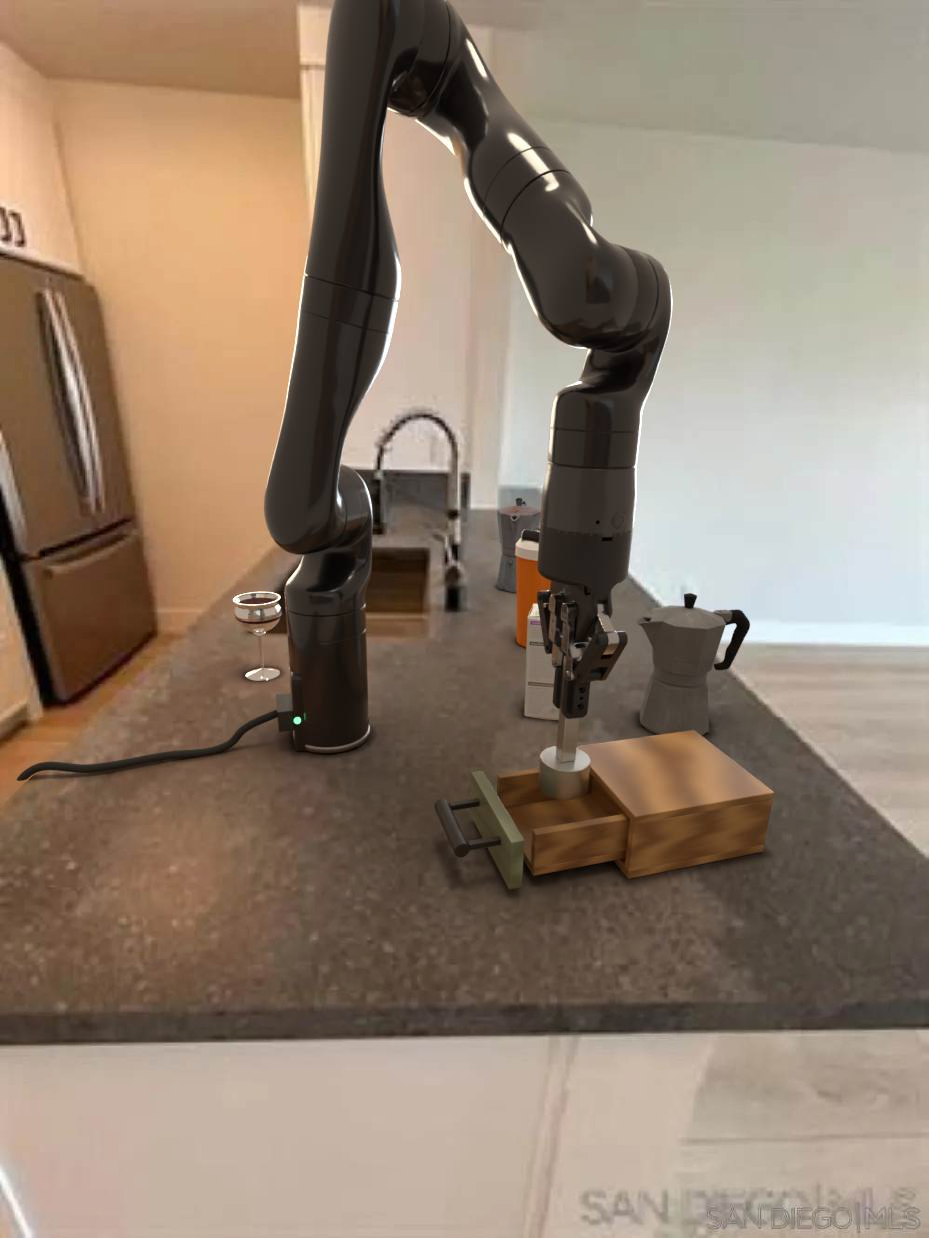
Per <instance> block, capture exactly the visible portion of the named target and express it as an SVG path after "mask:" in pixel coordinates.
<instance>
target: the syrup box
mask: <svg viewBox="0 0 929 1238" xmlns="http://www.w3.org/2000/svg"><path fill="white" fill-rule="evenodd" d="M525 650H526V651H525V673H524V674H525V676H524V701H523V702H524V703H523V705H524V706H523V715H524V716H525V717H526V718H533V719H541V720H549V721H550V720H551V721H559V709H558V708H556V707H555V705H554V704H553V690H554V677H555V669H556V668H554V667H553V666H552V654H546V652H545V649H544V642H543V636H542V629H541V622H540V616H539V609H538V604H533V606H532V608H531V610H530V612H529V615H528V621H527V646H526V647H525Z"/></svg>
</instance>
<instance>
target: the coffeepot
mask: <svg viewBox="0 0 929 1238" xmlns="http://www.w3.org/2000/svg"><path fill="white" fill-rule="evenodd" d="M697 599H698V595H697V594H694V593H691V592H688V593H684V594H683V600H684V601H683V604H684V605H672V604H671V605H665V606H661V607H656V608H652V609H650V614H645V615H642V617H639V618H638V619H637V621H636V624H637V625H638V626H640V627H641V628H642V629H643V631H644V633H645V635H646V637H647V639H648V641H649V642H650V645H651V652H652V653H651V655H652V656H651V657H652V664H653V670H652V673H651V674H650V677H649V680H648V683H647V687H646V690H645V693H644V697H643V700H642V703H641V706H640V709H639V721H640V725H641V726H643V727H644V728H645V729H646V730H648V731H649V732H651V733H653V734H655V735H661V734H669V733H676V732H683V731H690V730H694V731H696V732H697V733H698V734H700V735H701V736H702V737H704V735H705V734H706V733H709V732H710V717H709V716H710V715H709V689H708V688H709V687H708V681H707V679H708V673H709V672H711V671H712V669H713V668H714V670H715V671H725V670H729V669H730V668H731V666H732V664H733V662H734V660H735V658H736V657H737V655H738V653H739V651H740V648H741V645H742V644H743V642H744V640H745V638H746V636H747V634H748V633H749V630H750V627H751V622H750V619H749V618H748V616H746V614H745V613H744V611H743V610H741V609H739V608H737V609H716V610H714V611H710V610H707V609H704V608H702V607H701V608H700V607H698V606H695V604H696V601H697ZM734 624H735V628H734V630H733V633H732V635H731V639H730V642H729V644H728V645H727V647H726V649H725V652H724V658H723V660H722V661H721V662H717V663H714V662H715V659H716V656H717V653H718V651H719V648H720V644H721V641H722V638H723V636H724V632H725V629H726V626H729V625H730V626H731V625H734Z"/></svg>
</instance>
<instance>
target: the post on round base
mask: <svg viewBox="0 0 929 1238" xmlns="http://www.w3.org/2000/svg"><path fill="white" fill-rule="evenodd" d="M580 660H581V657H578V659H577V666H578V664H579V662H580ZM565 665H566V656H564V661H563V673H562V685H561V697H560V709H559V720H557V721H558V723H557V734H556V744H555V745H553V746H550V747H547V748H544V749H543V750H542V752H541V753H540V756H539V757H540V758H539V767H538V768H539V781H538V785H539V788H540V789H541V790H542V791H543V792H544V793H545V794H547V795H548V796H551V797H553V798H557V799H562V800H573V799H577V798H580V797H582V796H584V795H585V794H586V792H587V790H588V782H589V772H590V758H589V756H588V755H587V754H586V753H585V752H583V751H582V750H579V749H577V748H576V747H577V746H578V735H579V725H580V718H573V719H567V718H566V717H565V716H564V715H563V714H562V700H563V688H564V678H566V677H565Z"/></svg>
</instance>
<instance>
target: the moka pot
mask: <svg viewBox="0 0 929 1238" xmlns="http://www.w3.org/2000/svg"><path fill="white" fill-rule="evenodd" d="M515 504H516V505H512V506H510V505H509V506H506V507H502V508H500V509H499V508H498V509H497V510H496V516H497V526H498V537H499V544H500V545H501V549H500V550H501V555H500V556H501V557H500V562H499V568H498V569H499V570H498V575H497V582H496V586H497V588H498V589H499V590H500V591H505V592H509V593H517V556H516V555H515V550H516V543H517V542H518V540H519V539H520V538H521V534H522V531H523V530H525V529H528V530H533V529H535V528H537V527H540V519H541V510H539V508H536V507H530V506H527V505H528V504H527V503H526V501H523V498H522V497H517V498H515Z"/></svg>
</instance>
